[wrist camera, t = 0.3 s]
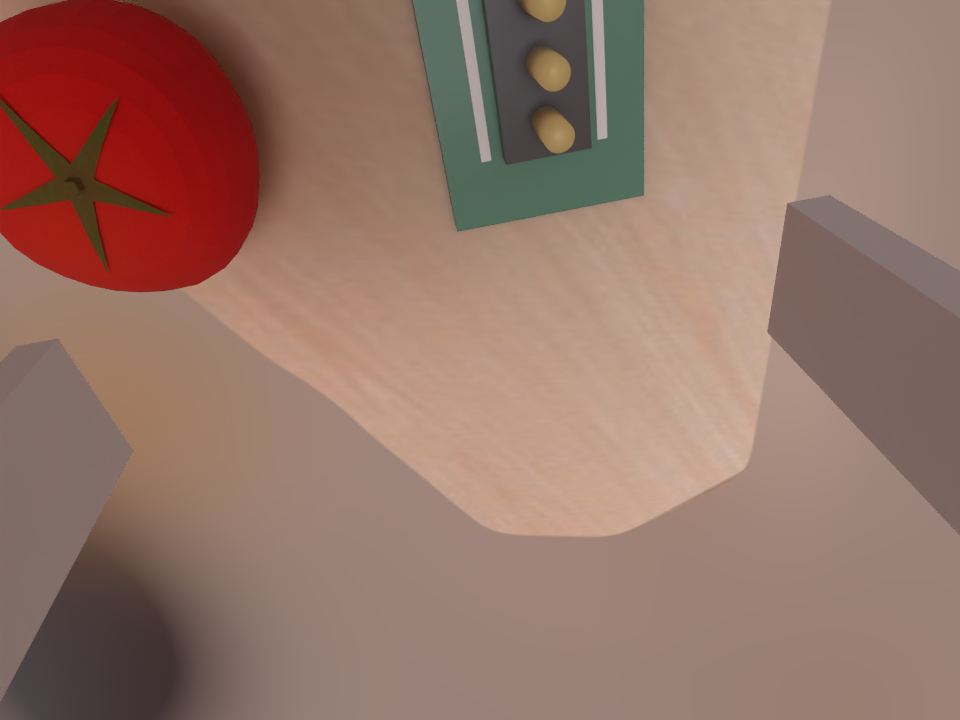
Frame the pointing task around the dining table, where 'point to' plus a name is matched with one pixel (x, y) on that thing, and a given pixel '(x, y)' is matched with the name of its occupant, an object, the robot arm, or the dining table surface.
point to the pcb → (535, 103)
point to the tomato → (121, 148)
